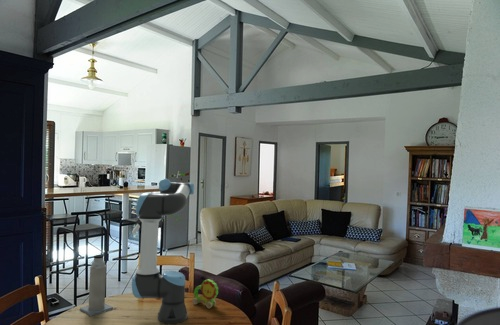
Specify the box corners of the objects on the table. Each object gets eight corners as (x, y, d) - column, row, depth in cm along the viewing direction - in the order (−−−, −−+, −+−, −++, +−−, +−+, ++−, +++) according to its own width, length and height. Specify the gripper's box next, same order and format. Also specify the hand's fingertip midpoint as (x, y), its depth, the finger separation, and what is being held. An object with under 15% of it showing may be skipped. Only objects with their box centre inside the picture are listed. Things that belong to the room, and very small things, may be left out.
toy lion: (191, 304, 197) (192, 277, 197) (197, 301, 202) (198, 275, 202) (214, 310, 189) (215, 282, 190) (219, 307, 194) (220, 280, 194)
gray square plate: (112, 309, 186) (112, 307, 186) (91, 316, 176) (91, 313, 176) (100, 303, 193) (101, 301, 193) (79, 310, 183) (80, 307, 183)
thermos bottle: (93, 304, 189) (95, 253, 190) (107, 305, 188) (109, 254, 189) (85, 309, 181) (87, 256, 182) (99, 310, 180) (101, 257, 181)
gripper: (177, 213, 216) (159, 240, 202) (147, 210, 228) (129, 236, 214) (171, 205, 212) (154, 233, 198) (142, 203, 223) (123, 228, 209)
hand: (141, 234), depth 206 cm, fingers open, 13 cm apart
